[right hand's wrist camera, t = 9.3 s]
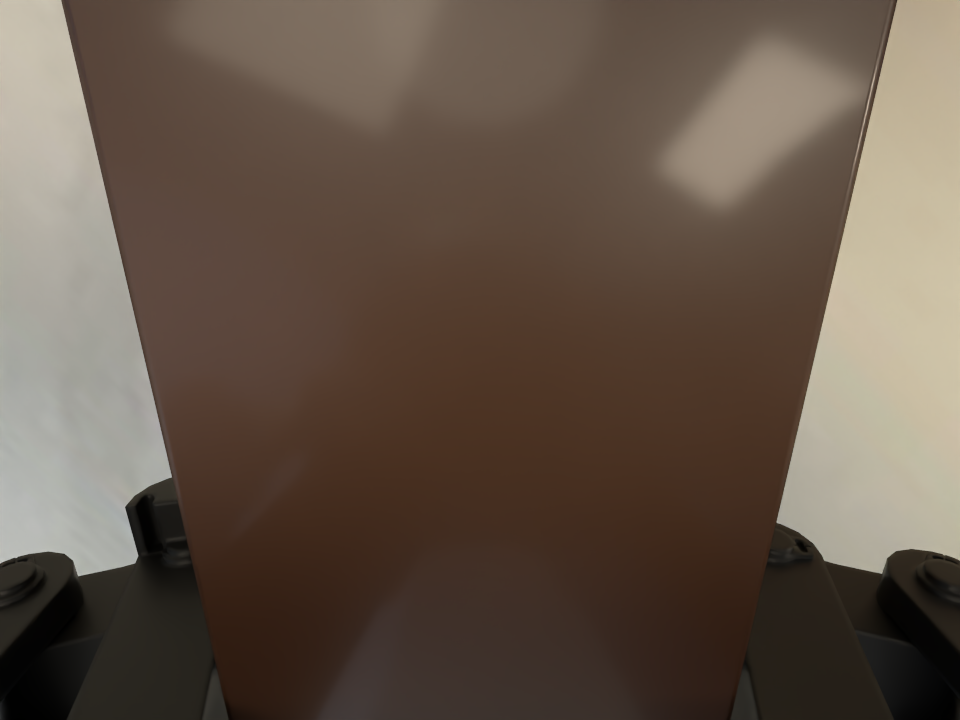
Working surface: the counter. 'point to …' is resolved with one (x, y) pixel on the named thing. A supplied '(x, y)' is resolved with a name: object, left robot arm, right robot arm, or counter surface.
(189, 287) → the walnut box
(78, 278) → the counter surface
